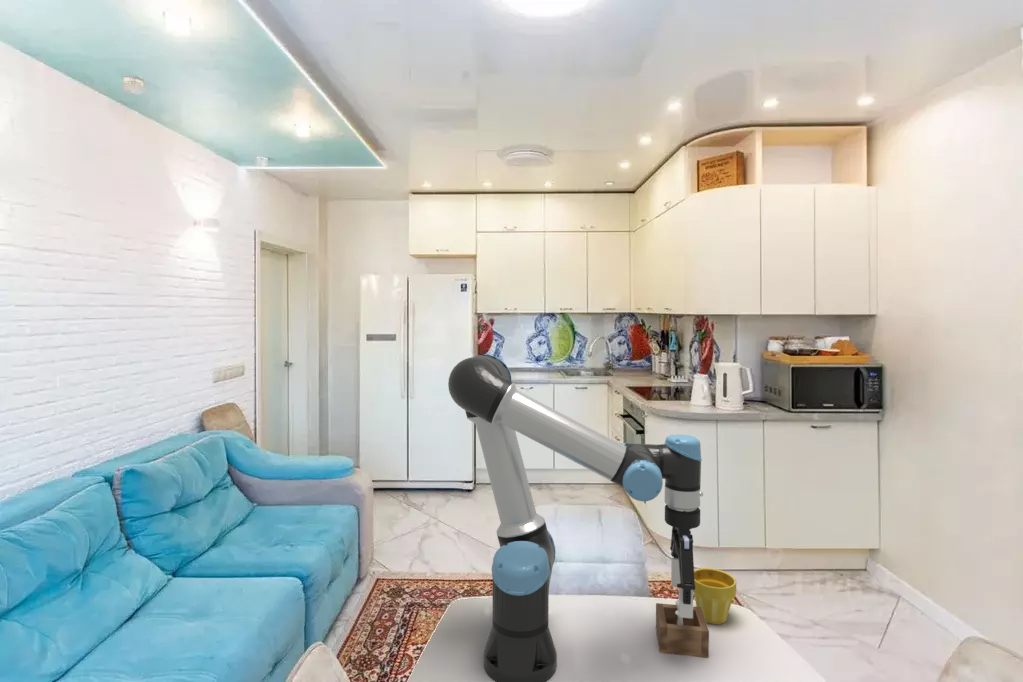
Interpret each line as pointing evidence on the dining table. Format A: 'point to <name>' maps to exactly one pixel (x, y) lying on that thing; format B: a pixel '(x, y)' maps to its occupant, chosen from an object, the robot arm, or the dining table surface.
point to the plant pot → (714, 593)
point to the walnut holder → (681, 632)
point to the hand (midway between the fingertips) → (681, 600)
